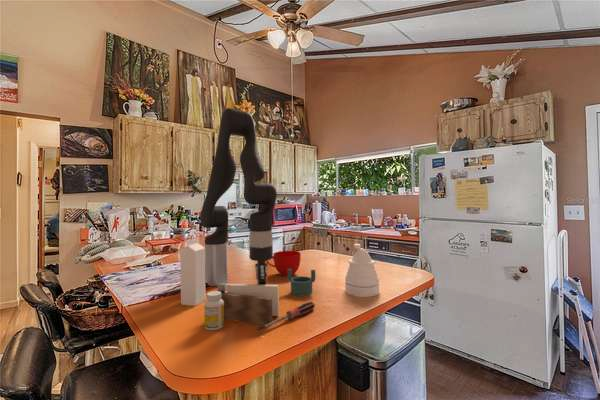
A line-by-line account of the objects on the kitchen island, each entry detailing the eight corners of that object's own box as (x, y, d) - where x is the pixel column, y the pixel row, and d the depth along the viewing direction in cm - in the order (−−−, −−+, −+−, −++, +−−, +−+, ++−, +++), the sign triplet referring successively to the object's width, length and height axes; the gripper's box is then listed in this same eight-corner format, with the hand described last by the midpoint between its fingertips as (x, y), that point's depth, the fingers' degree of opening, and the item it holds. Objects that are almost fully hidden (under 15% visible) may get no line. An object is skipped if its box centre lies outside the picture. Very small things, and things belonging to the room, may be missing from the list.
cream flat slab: (216, 314, 91) (215, 285, 91) (219, 311, 93) (219, 282, 93) (277, 317, 89) (277, 286, 88) (279, 313, 91) (278, 284, 91)
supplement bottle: (211, 332, 79) (211, 297, 79) (200, 327, 83) (200, 293, 83) (227, 326, 83) (227, 292, 83) (217, 321, 87) (216, 289, 87)
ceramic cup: (269, 270, 147) (269, 250, 147) (302, 271, 144) (302, 251, 144) (262, 277, 134) (262, 255, 134) (298, 278, 131) (298, 256, 131)
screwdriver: (259, 338, 76) (259, 326, 76) (252, 334, 78) (251, 323, 78) (317, 310, 95) (317, 300, 95) (310, 307, 97) (310, 298, 97)
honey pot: (338, 291, 113) (338, 245, 112) (356, 284, 122) (356, 241, 122) (368, 299, 104) (368, 249, 104) (385, 290, 113) (384, 244, 113)
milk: (180, 304, 101) (179, 241, 100) (191, 298, 107) (190, 238, 106) (196, 306, 99) (194, 241, 99) (206, 299, 105) (204, 239, 105)
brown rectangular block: (212, 317, 90) (212, 293, 89) (221, 312, 94) (220, 288, 94) (270, 325, 83) (269, 299, 83) (276, 319, 87) (276, 295, 87)
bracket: (317, 293, 111) (317, 270, 111) (296, 297, 106) (296, 273, 106) (305, 287, 119) (305, 265, 119) (285, 291, 114) (285, 268, 114)
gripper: (249, 241, 100) (249, 291, 101) (249, 248, 87) (250, 305, 88) (270, 240, 102) (271, 289, 102) (274, 247, 89) (275, 303, 89)
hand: (261, 296), depth 95 cm, fingers closed
